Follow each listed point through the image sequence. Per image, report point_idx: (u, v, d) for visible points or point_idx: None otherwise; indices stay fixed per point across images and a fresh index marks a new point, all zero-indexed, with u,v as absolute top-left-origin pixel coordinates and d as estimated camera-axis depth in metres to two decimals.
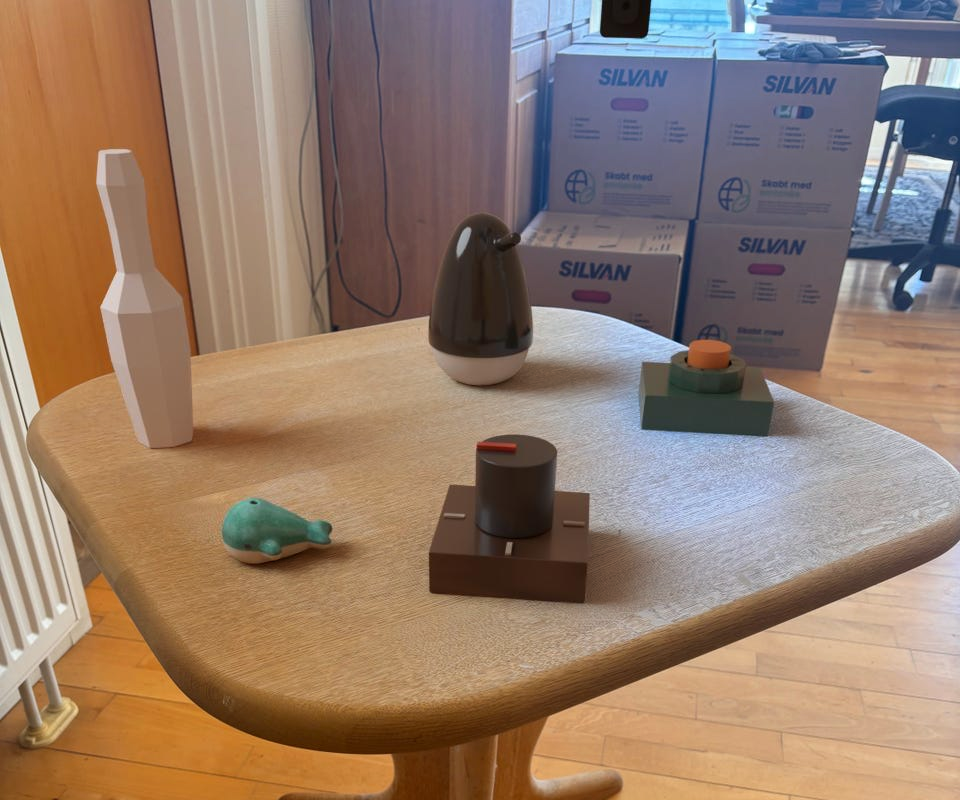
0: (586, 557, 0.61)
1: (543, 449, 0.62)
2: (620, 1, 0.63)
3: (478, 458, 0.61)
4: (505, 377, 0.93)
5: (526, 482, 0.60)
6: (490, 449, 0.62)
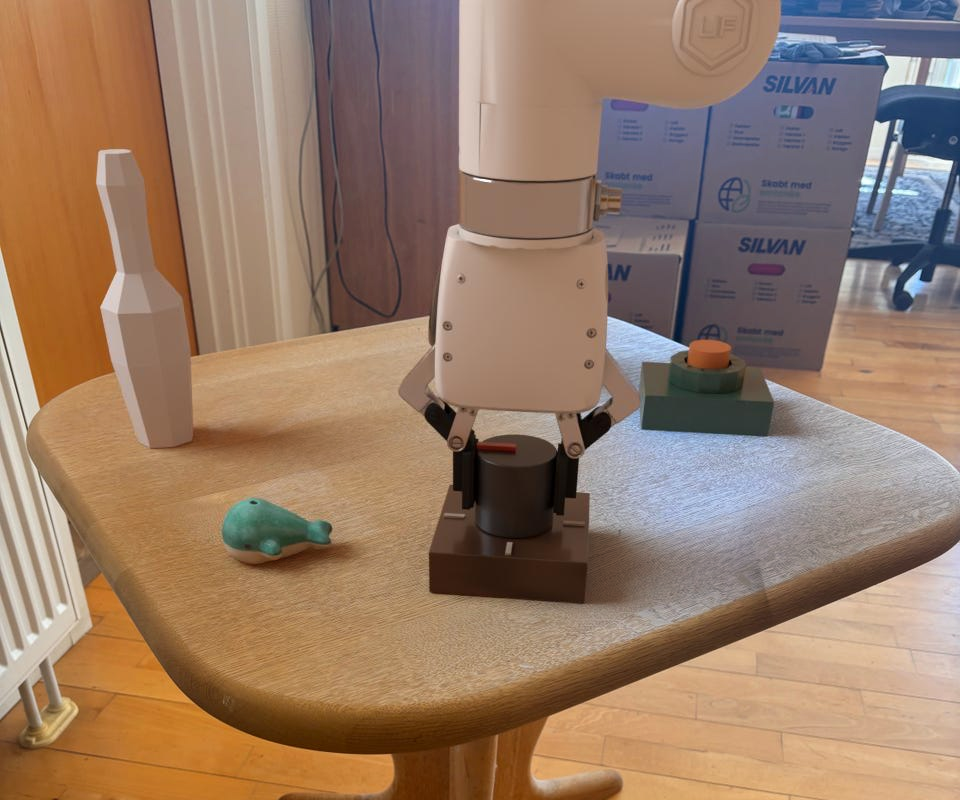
0: (586, 557, 0.61)
1: (543, 449, 0.62)
2: None
3: (478, 458, 0.61)
4: None
5: (526, 482, 0.60)
6: (490, 449, 0.62)
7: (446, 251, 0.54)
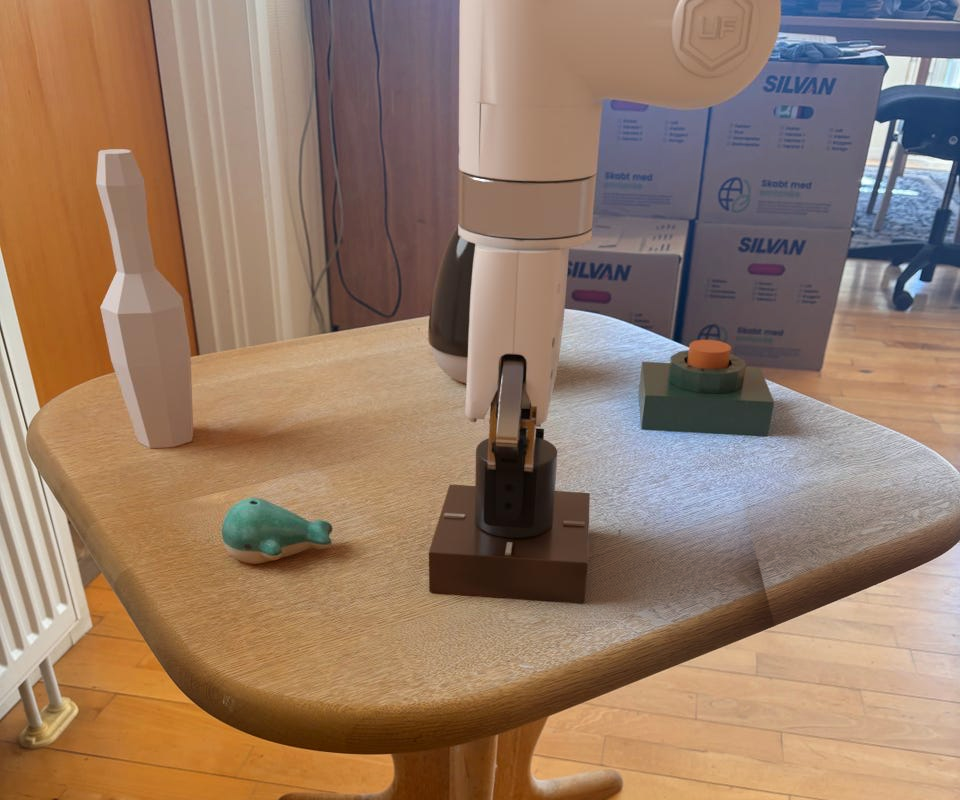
0: (586, 557, 0.61)
1: None
2: None
3: None
4: None
5: None
6: None
7: (543, 268, 0.51)
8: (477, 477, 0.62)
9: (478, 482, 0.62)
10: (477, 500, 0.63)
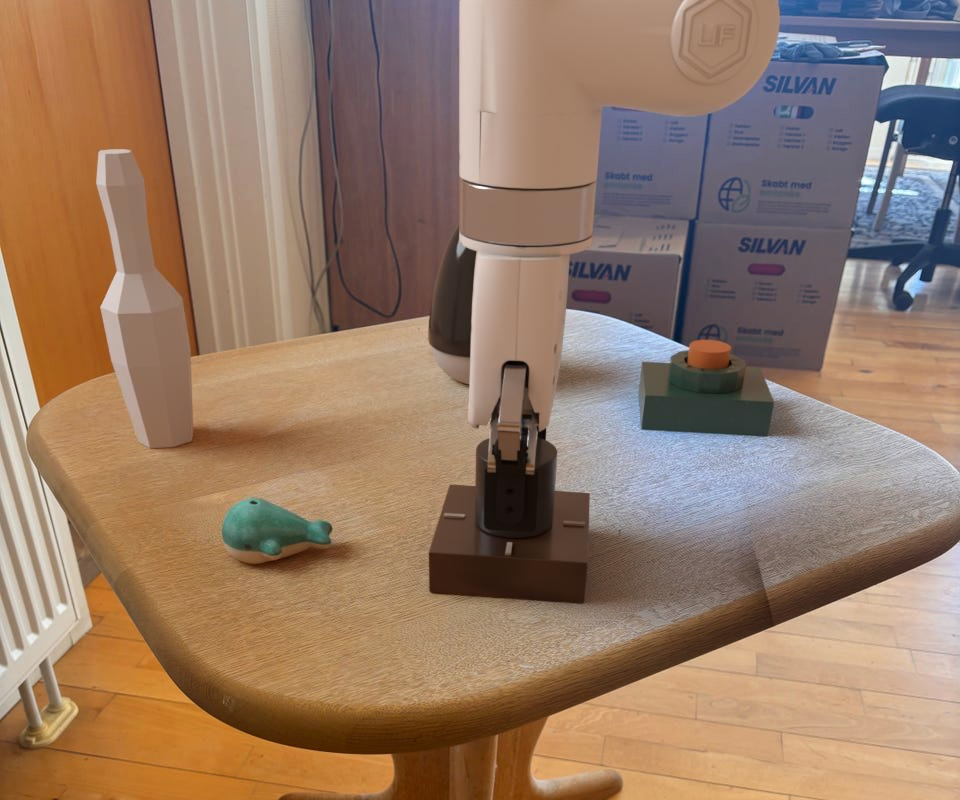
0: (586, 557, 0.61)
1: None
2: None
3: None
4: None
5: None
6: None
7: (545, 275, 0.51)
8: (477, 477, 0.62)
9: (478, 482, 0.62)
10: (477, 500, 0.63)
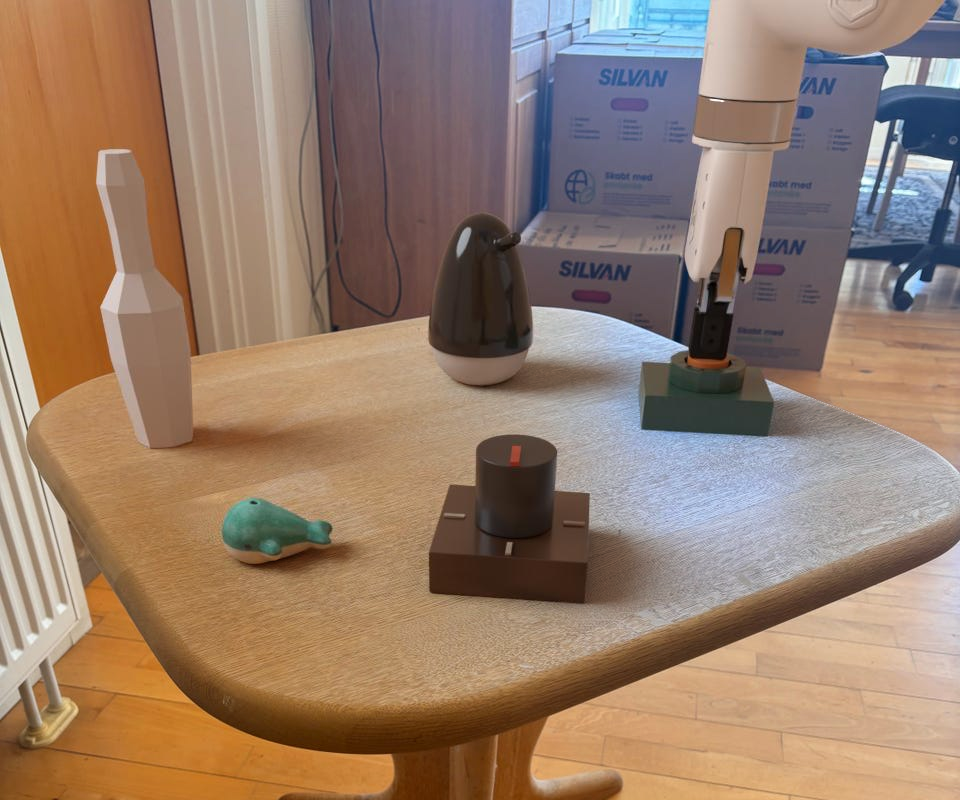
0: (586, 557, 0.61)
1: (513, 439, 0.63)
2: None
3: (533, 469, 0.60)
4: (505, 377, 0.93)
5: None
6: (519, 460, 0.60)
7: (762, 164, 0.73)
8: (477, 477, 0.62)
9: (478, 482, 0.62)
10: (477, 500, 0.63)
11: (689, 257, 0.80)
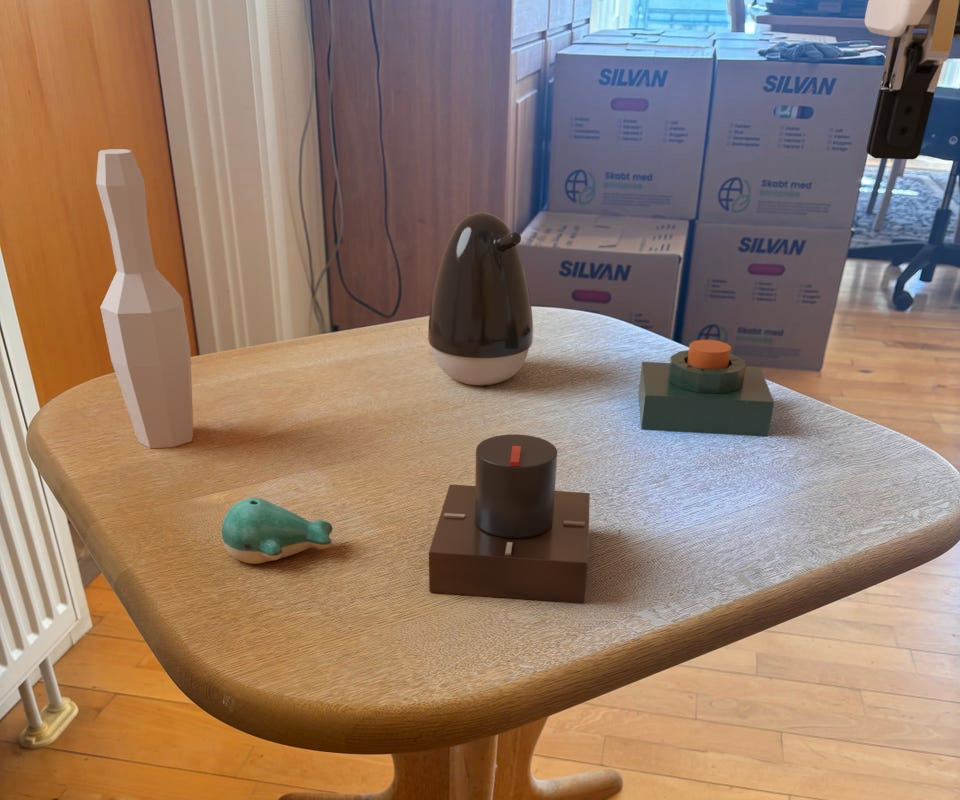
0: (586, 557, 0.61)
1: (513, 439, 0.63)
2: None
3: (533, 469, 0.60)
4: (505, 377, 0.93)
5: None
6: (519, 460, 0.60)
7: None
8: (477, 477, 0.62)
9: (478, 482, 0.62)
10: (477, 500, 0.63)
11: (884, 9, 0.61)
